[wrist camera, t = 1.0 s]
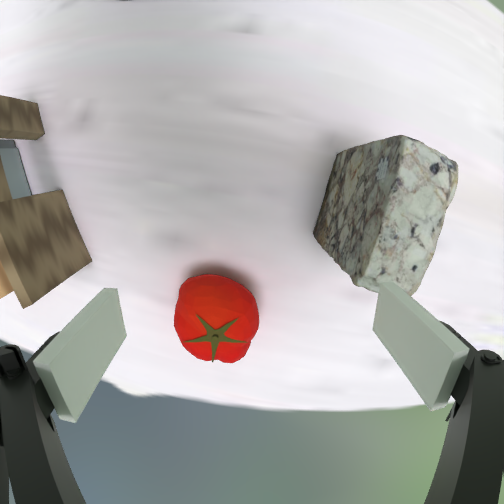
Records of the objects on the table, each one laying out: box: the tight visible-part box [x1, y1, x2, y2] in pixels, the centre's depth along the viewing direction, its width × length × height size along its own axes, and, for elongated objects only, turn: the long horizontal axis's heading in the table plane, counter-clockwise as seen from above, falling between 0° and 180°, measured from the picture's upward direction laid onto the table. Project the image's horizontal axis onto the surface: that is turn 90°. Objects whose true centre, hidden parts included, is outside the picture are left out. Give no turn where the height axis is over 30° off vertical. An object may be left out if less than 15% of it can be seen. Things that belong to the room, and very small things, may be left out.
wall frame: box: [0, 95, 92, 309], centre depth 29 cm, size 28×2×16 cm, turn 21°
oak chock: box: [0, 261, 14, 299], centre depth 38 cm, size 9×6×6 cm, turn 111°
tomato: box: [174, 274, 259, 363], centre depth 38 cm, size 11×13×10 cm
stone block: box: [313, 135, 458, 296], centre depth 30 cm, size 13×7×20 cm, turn 169°
